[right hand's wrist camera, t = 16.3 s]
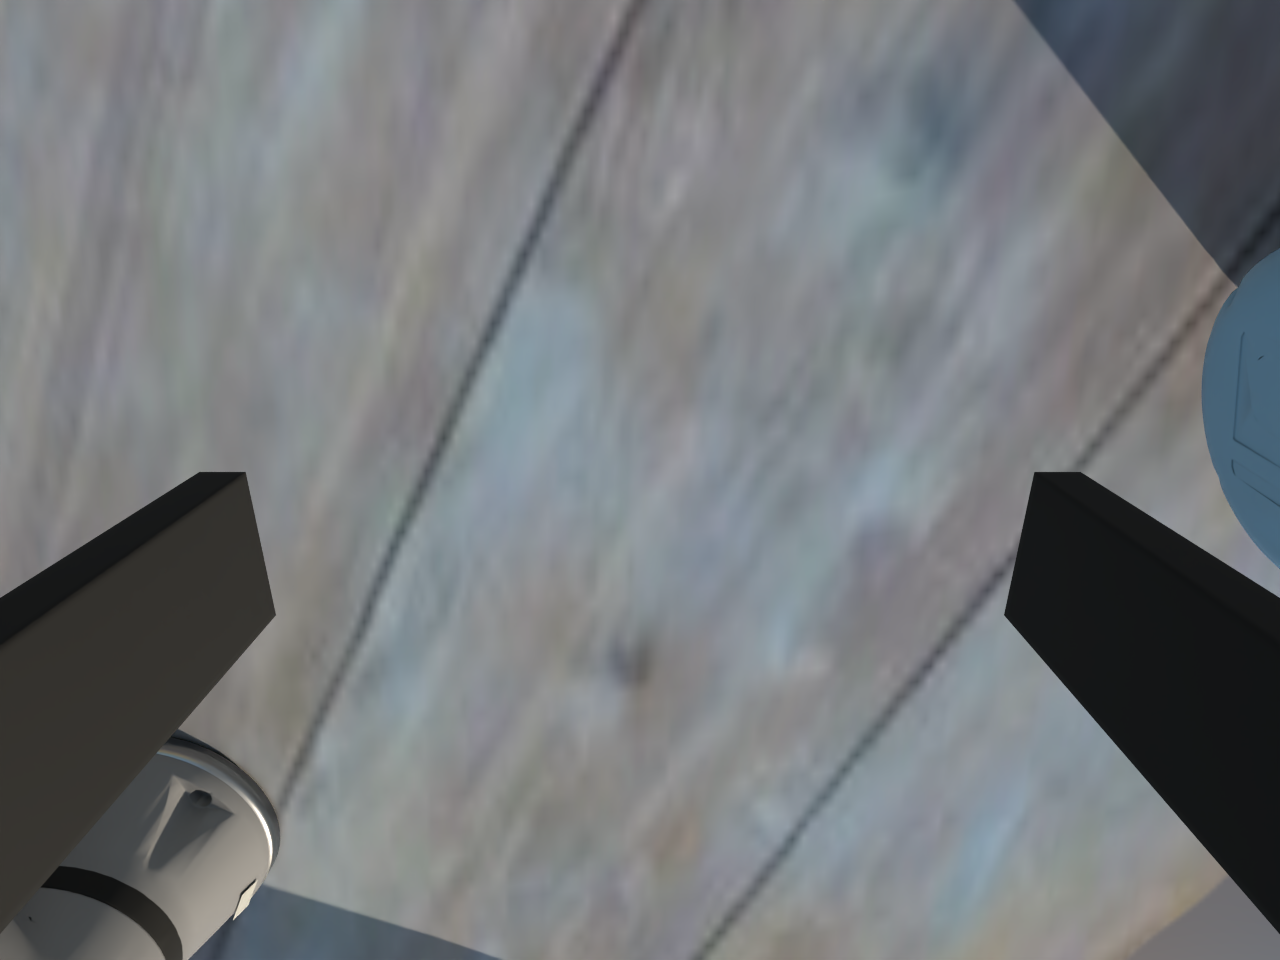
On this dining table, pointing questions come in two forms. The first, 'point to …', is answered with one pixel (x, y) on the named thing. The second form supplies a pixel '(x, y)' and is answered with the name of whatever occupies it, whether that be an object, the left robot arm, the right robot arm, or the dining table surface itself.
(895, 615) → the dining table surface
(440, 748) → the dining table surface
